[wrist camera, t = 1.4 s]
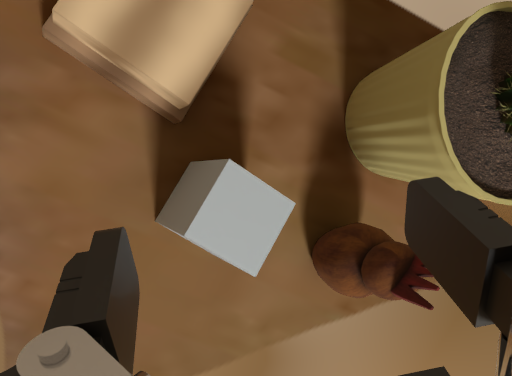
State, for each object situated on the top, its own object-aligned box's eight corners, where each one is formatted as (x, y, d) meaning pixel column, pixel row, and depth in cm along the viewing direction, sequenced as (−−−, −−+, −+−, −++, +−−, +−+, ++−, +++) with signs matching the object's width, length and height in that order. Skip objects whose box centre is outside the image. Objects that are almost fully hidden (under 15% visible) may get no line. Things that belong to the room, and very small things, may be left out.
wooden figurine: (316, 294, 46) (427, 347, 32) (292, 245, 45) (396, 278, 31) (366, 258, 48) (489, 293, 34) (344, 210, 47) (463, 227, 33)
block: (244, 196, 43) (295, 203, 33) (212, 253, 41) (255, 277, 32) (190, 161, 40) (229, 158, 31) (154, 221, 39) (184, 236, 30)
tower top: (245, 3, 39) (259, -10, 37) (179, 109, 37) (189, 104, 35) (133, -91, 35) (139, -113, 33) (52, 22, 34) (52, 9, 31)
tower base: (240, 16, 42) (252, 5, 40) (173, 124, 40) (181, 121, 37) (125, -78, 38) (130, -97, 35) (43, 38, 36) (42, 27, 33)
